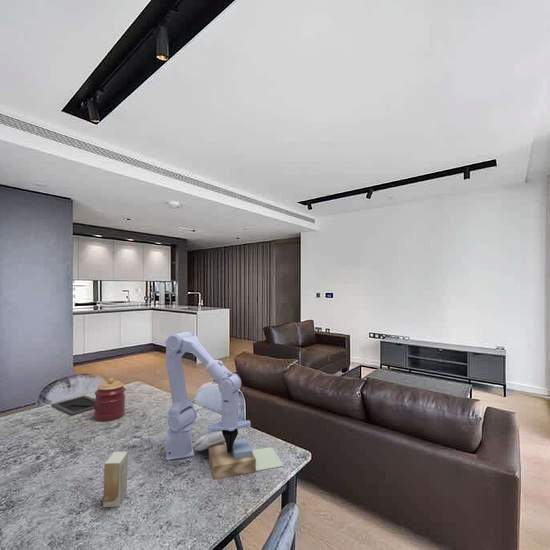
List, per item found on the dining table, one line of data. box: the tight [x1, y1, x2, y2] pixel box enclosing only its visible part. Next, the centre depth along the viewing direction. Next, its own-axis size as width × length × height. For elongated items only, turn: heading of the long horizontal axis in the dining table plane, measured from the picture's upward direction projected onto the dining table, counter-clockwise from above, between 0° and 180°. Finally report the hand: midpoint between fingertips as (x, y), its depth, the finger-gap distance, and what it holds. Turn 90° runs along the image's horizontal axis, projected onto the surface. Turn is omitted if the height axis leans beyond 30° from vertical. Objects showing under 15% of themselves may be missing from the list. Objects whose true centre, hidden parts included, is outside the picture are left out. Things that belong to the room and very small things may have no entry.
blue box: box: [232, 438, 253, 459], centre depth 109 cm, size 6×9×2 cm, turn 19°
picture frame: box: [50, 395, 95, 417], centre depth 159 cm, size 16×2×21 cm
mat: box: [252, 446, 285, 472], centre depth 112 cm, size 10×13×1 cm
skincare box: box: [102, 451, 129, 508], centre depth 90 cm, size 6×4×12 cm
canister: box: [93, 377, 126, 422], centre depth 148 cm, size 13×13×18 cm
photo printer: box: [194, 431, 226, 452], centre depth 117 cm, size 10×4×12 cm
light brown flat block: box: [208, 443, 257, 480], centre depth 108 cm, size 14×13×4 cm
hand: (229, 451), depth 108 cm, fingers closed
